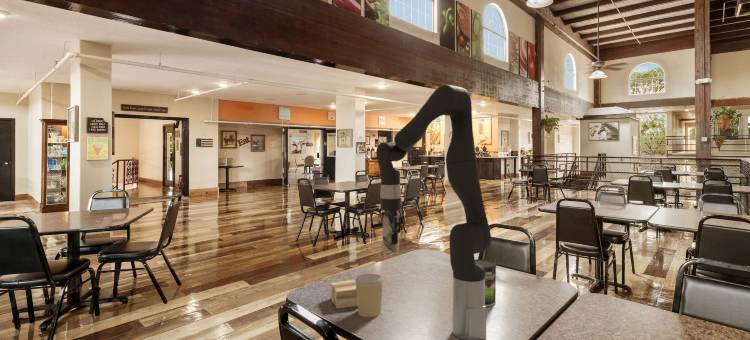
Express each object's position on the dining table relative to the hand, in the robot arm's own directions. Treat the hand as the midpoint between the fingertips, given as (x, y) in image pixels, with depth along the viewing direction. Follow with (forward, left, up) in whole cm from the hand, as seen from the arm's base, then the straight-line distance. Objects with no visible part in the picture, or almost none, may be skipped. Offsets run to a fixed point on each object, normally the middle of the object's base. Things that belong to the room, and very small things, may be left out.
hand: (391, 241), depth 139 cm
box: (0, 0, -4) cm, 4 cm away
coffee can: (-13, -30, -22) cm, 39 cm away
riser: (+3, +16, -21) cm, 27 cm away
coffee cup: (-9, +11, -22) cm, 26 cm away
